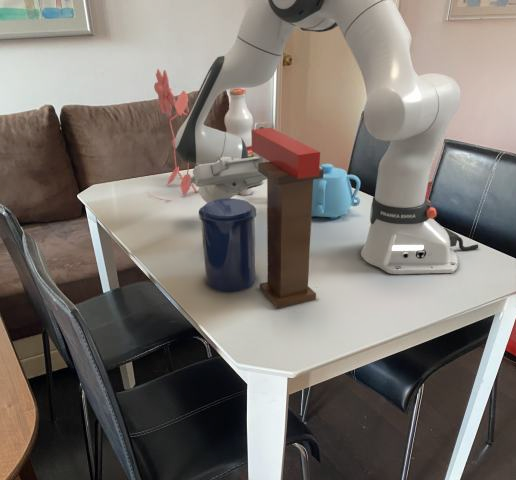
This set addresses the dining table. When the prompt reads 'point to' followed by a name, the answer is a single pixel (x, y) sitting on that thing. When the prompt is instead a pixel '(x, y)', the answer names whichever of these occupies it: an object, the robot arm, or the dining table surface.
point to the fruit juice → (240, 119)
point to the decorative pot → (333, 193)
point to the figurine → (181, 104)
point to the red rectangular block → (286, 152)
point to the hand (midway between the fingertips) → (245, 160)
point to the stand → (288, 236)
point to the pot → (229, 244)
